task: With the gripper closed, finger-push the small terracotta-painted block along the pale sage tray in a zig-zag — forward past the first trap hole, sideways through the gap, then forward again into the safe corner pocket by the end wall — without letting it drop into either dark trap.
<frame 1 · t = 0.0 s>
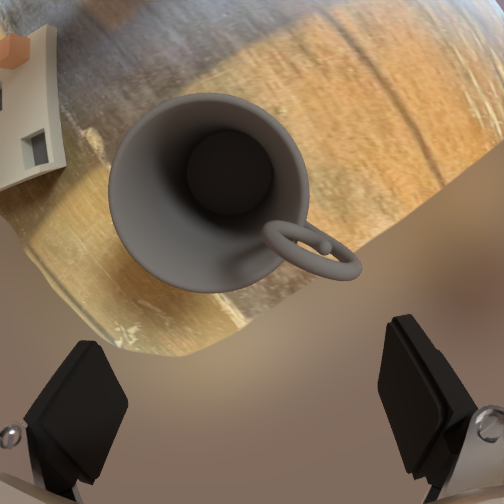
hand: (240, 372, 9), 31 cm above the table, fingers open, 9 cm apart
block: (21, 54, 27), point 3 cm above the table, touching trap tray
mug: (238, 173, 37), on the table
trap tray: (21, 110, 33), on the table
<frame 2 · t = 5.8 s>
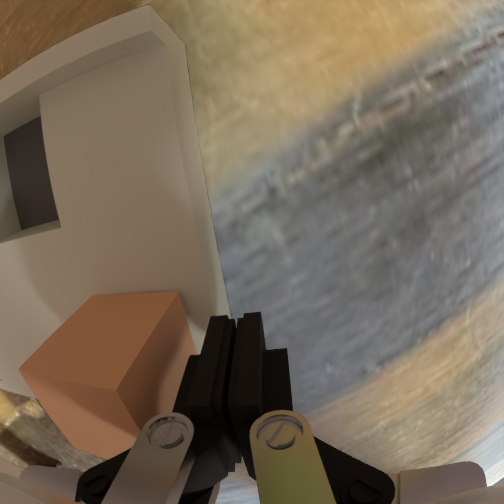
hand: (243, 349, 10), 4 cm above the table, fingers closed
block: (146, 336, 11), point 3 cm above the table, touching gripper, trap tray
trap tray: (24, 262, 14), on the table
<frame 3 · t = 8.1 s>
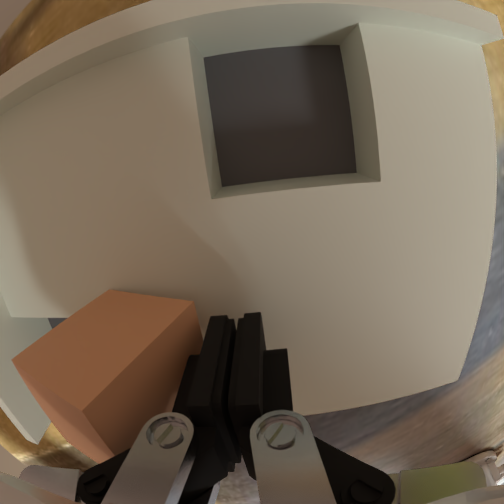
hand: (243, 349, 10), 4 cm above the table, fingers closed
block: (160, 341, 11), point 4 cm above the table, tilted 19°, touching gripper, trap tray
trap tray: (207, 235, 13), on the table
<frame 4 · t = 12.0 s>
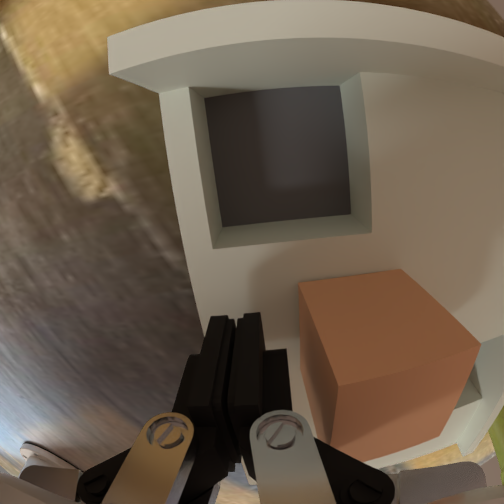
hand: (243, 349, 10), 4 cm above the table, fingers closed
block: (350, 322, 11), point 3 cm above the table, touching gripper, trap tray
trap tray: (384, 313, 14), on the table
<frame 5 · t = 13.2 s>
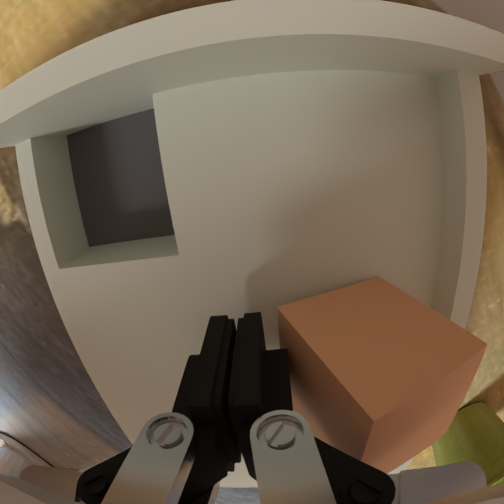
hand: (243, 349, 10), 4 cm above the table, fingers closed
block: (331, 338, 10), point 4 cm above the table, tilted 20°, touching gripper
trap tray: (257, 331, 15), on the table
plant pot: (458, 422, 19), on the table
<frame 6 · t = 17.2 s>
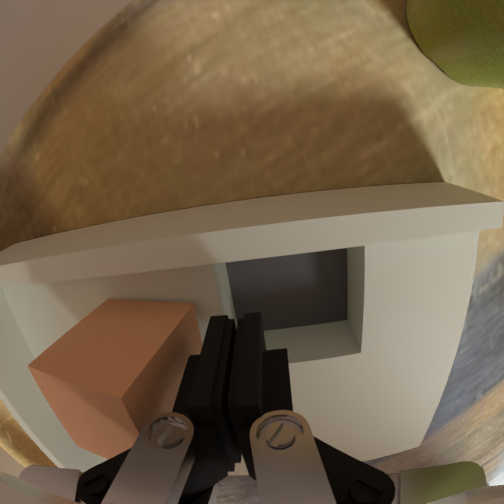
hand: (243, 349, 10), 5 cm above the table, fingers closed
block: (158, 343, 12), point 3 cm above the table, tilted 10°, touching gripper, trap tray
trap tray: (227, 359, 16), on the table
plant pot: (451, 33, 9), on the table
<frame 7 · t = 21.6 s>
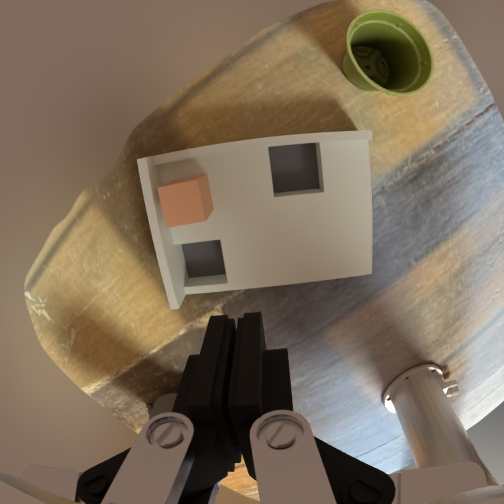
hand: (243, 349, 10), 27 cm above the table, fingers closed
block: (192, 195, 32), point 3 cm above the table, touching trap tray
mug: (187, 406, 49), on the table
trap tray: (266, 210, 36), on the table
plant pot: (364, 68, 29), on the table
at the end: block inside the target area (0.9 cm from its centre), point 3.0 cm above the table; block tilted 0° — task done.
